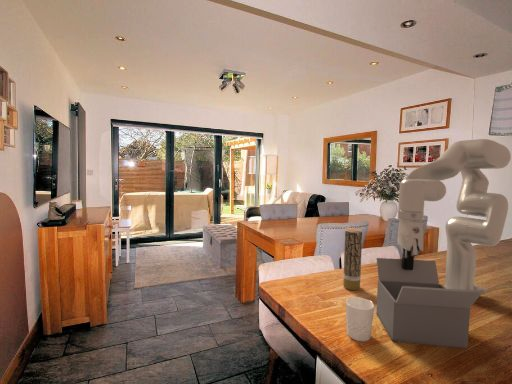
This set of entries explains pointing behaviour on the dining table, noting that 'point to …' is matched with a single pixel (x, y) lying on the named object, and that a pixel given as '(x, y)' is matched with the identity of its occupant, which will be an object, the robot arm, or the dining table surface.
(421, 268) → the flap
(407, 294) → the flap
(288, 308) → the dining table surface
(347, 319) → the white cup
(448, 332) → the carton
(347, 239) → the paper tube
